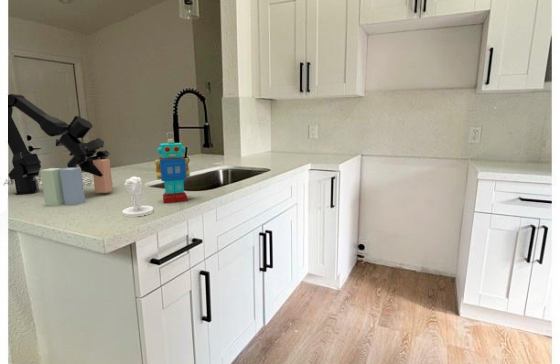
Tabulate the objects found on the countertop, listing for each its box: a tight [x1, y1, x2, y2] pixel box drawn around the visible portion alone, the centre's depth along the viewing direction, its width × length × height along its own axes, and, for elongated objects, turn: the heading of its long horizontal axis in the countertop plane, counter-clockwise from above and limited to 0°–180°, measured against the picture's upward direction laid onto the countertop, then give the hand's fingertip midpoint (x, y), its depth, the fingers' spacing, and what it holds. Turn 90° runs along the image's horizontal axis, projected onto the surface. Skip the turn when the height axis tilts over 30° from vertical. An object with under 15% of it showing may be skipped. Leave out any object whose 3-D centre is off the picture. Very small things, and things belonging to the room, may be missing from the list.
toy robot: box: [154, 131, 191, 204], centre depth 117 cm, size 12×6×25 cm, turn 114°
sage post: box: [39, 167, 65, 207], centre depth 114 cm, size 4×4×12 cm
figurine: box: [122, 176, 154, 218], centre depth 104 cm, size 9×9×12 cm
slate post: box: [60, 167, 86, 206], centre depth 115 cm, size 4×4×12 cm
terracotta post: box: [92, 158, 114, 194], centre depth 128 cm, size 4×4×12 cm
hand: (105, 174), depth 128 cm, fingers closed on terracotta post, 4 cm apart
